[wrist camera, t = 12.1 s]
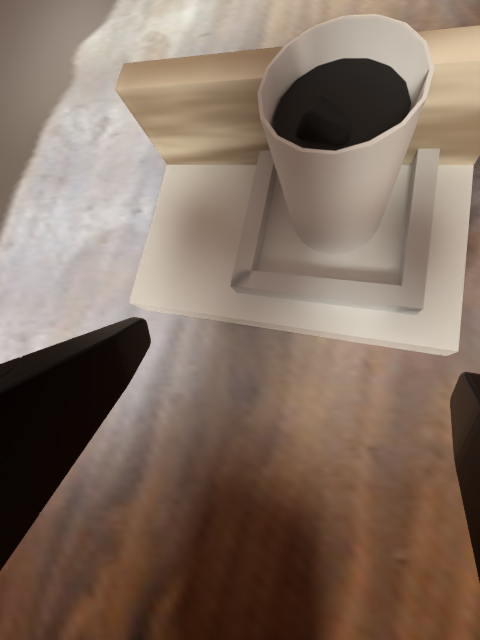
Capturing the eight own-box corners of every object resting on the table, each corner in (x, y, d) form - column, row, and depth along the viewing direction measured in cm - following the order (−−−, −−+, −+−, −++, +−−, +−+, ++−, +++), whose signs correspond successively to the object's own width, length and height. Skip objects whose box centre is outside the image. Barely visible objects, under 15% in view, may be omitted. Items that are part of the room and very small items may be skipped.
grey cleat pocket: (446, 356, 20) (468, 347, 17) (143, 309, 27) (117, 296, 24) (461, 184, 23) (484, 147, 19) (177, 179, 29) (158, 151, 26)
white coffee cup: (361, 276, 21) (385, 175, 12) (270, 240, 23) (229, 131, 14) (406, 188, 21) (465, 24, 12) (313, 161, 24) (302, 5, 14)
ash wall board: (461, 184, 23) (539, 55, 14) (177, 179, 29) (115, 89, 21) (464, 159, 23) (541, 19, 15) (182, 160, 29) (123, 63, 21)
